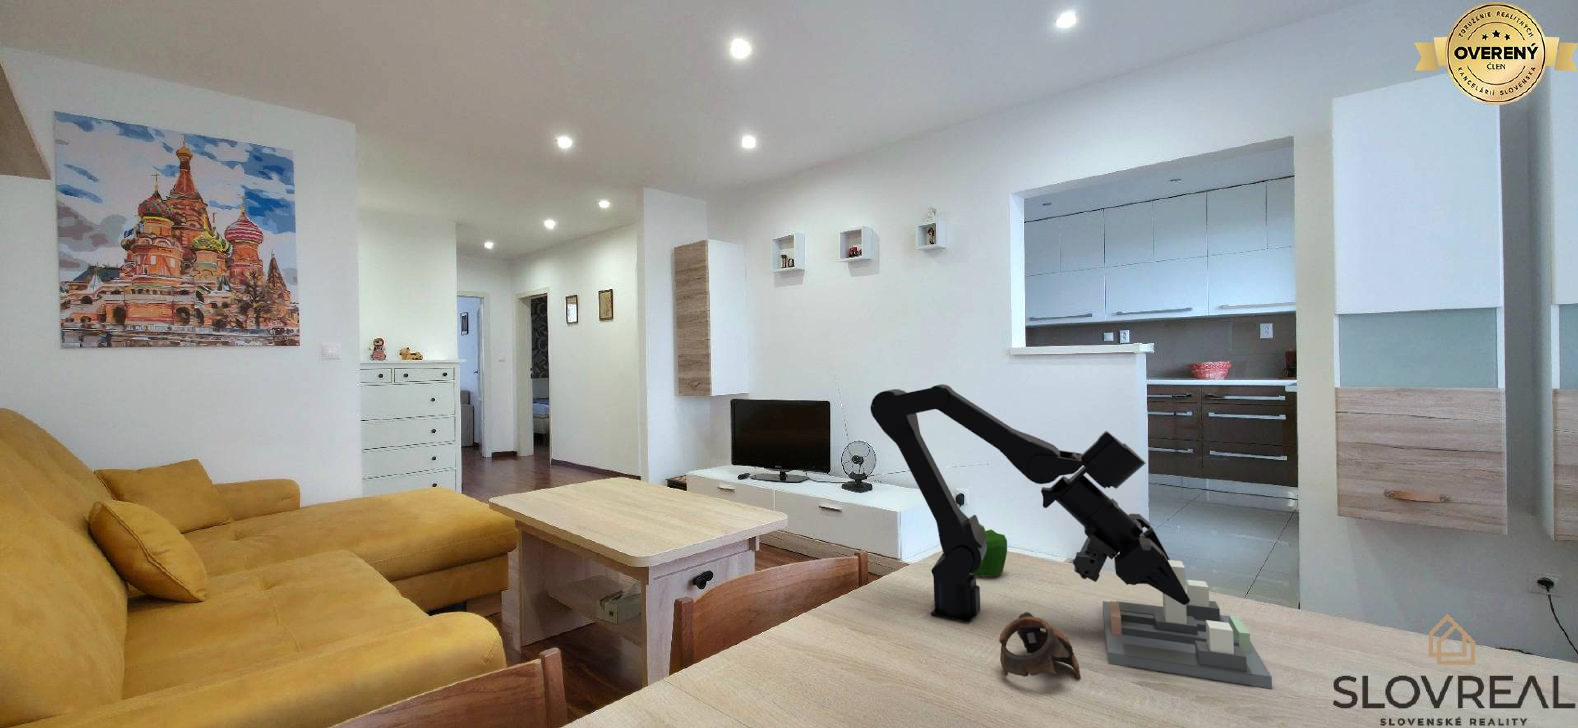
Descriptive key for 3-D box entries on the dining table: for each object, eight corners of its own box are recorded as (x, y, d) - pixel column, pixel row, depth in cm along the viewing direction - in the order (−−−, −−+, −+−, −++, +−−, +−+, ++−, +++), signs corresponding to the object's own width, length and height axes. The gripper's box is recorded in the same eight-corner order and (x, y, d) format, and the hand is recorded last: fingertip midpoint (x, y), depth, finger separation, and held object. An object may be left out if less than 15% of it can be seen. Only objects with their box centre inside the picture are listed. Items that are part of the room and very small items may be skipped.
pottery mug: (1099, 694, 77) (1072, 645, 75) (1028, 723, 79) (1001, 675, 77) (1061, 629, 89) (1038, 586, 87) (1001, 655, 90) (976, 613, 88)
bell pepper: (1005, 567, 123) (1003, 517, 123) (1010, 582, 115) (1008, 528, 115) (962, 565, 125) (960, 516, 125) (963, 580, 117) (962, 527, 117)
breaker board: (1108, 664, 83) (1106, 616, 83) (1102, 609, 101) (1101, 569, 101) (1272, 690, 76) (1271, 637, 76) (1235, 625, 94) (1234, 583, 94)
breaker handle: (1156, 635, 88) (1154, 565, 88) (1153, 625, 91) (1151, 557, 91) (1198, 640, 86) (1195, 569, 86) (1193, 630, 89) (1191, 561, 89)
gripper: (1055, 528, 104) (1132, 601, 99) (1051, 562, 87) (1144, 653, 82) (1106, 483, 100) (1188, 557, 96) (1111, 509, 83) (1212, 601, 79)
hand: (1182, 591), depth 88 cm, fingers open, 9 cm apart
